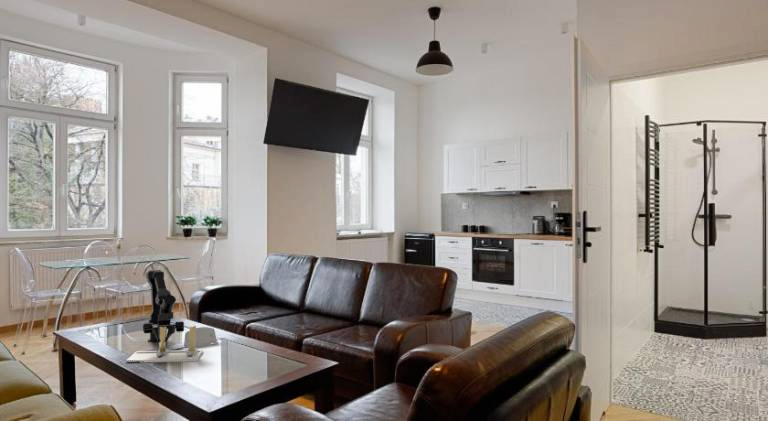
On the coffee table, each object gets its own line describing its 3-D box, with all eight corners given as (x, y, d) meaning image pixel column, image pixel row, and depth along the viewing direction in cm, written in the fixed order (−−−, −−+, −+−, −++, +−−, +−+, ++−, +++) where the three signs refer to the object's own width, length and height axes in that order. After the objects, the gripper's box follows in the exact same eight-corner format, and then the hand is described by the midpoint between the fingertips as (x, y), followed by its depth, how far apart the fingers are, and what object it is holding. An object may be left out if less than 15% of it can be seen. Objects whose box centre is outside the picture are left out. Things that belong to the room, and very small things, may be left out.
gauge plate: (136, 353, 234) (137, 324, 234) (202, 352, 239) (203, 323, 239) (125, 362, 220) (126, 331, 220) (196, 361, 225) (197, 330, 225)
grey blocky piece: (185, 347, 246) (184, 328, 248) (183, 348, 249) (182, 329, 252) (217, 343, 256) (216, 324, 258) (215, 344, 259) (214, 326, 262)
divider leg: (158, 352, 232) (159, 325, 232) (168, 352, 233) (169, 325, 233) (154, 356, 225) (155, 329, 225) (164, 356, 226) (165, 329, 226)
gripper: (144, 307, 231) (139, 335, 220) (184, 305, 237) (182, 332, 227) (145, 319, 238) (141, 346, 228) (185, 317, 244) (182, 344, 234)
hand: (162, 342), depth 229 cm, fingers closed on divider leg, 3 cm apart
